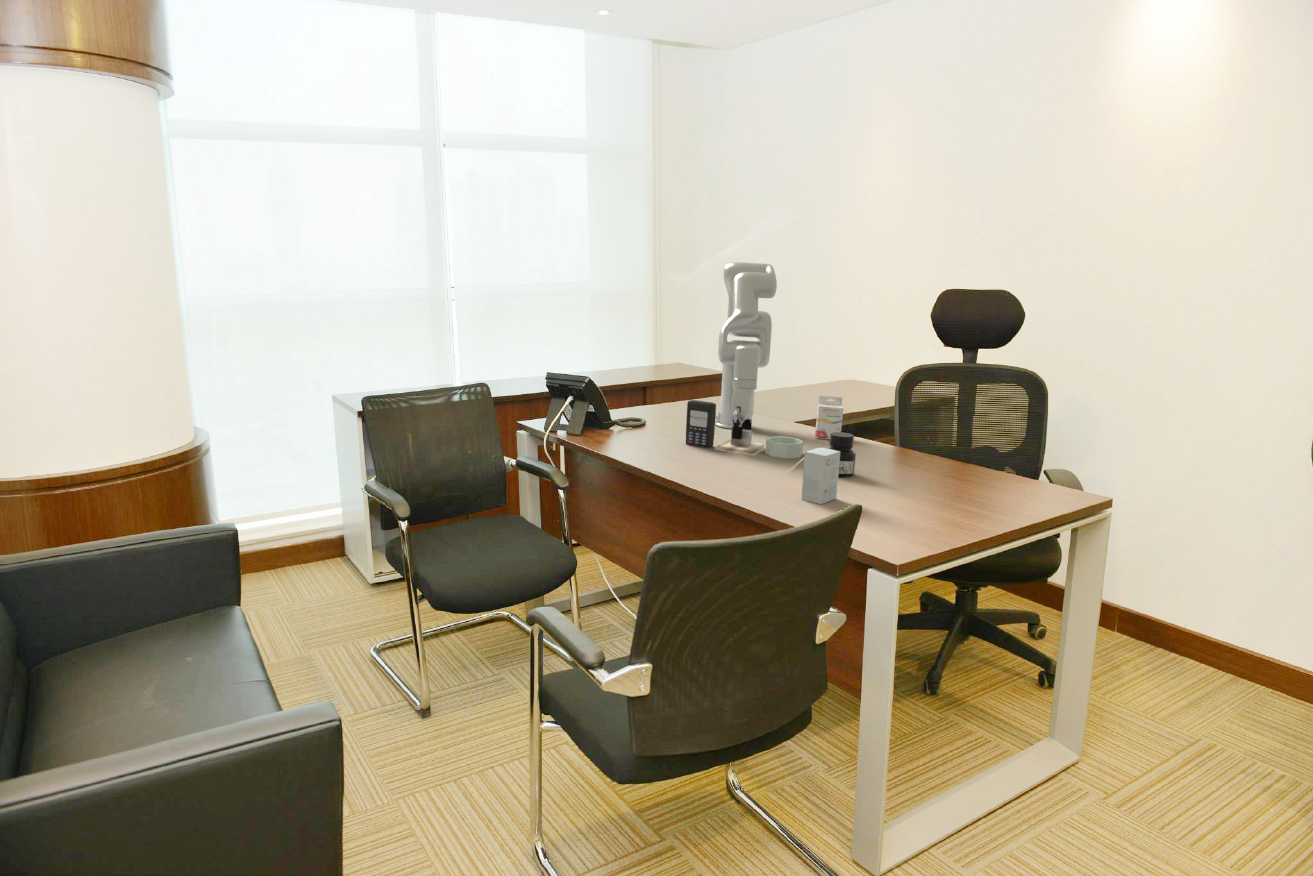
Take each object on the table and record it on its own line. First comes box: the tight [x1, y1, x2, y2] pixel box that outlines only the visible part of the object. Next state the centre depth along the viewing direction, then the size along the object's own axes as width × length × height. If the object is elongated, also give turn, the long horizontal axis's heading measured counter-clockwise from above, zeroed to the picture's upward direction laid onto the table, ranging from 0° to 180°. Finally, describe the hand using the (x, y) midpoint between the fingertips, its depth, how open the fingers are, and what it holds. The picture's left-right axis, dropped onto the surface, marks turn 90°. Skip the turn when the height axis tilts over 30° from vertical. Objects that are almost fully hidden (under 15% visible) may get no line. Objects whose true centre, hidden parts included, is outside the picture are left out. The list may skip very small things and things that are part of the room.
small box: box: [801, 447, 840, 505], centre depth 225 cm, size 8×6×13 cm
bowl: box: [764, 435, 804, 459], centre depth 274 cm, size 11×11×5 cm
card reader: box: [685, 399, 717, 449], centre depth 279 cm, size 9×4×15 cm, turn 62°
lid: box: [716, 429, 765, 455], centre depth 279 cm, size 12×12×6 cm
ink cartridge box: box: [814, 395, 844, 439], centre depth 303 cm, size 9×5×15 cm, turn 84°
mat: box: [712, 445, 766, 456], centre depth 280 cm, size 14×14×1 cm
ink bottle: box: [828, 431, 857, 478], centre depth 252 cm, size 10×9×12 cm
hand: (741, 436), depth 278 cm, fingers open, 9 cm apart
